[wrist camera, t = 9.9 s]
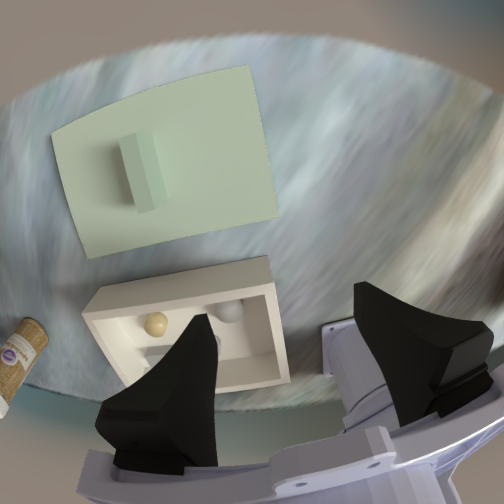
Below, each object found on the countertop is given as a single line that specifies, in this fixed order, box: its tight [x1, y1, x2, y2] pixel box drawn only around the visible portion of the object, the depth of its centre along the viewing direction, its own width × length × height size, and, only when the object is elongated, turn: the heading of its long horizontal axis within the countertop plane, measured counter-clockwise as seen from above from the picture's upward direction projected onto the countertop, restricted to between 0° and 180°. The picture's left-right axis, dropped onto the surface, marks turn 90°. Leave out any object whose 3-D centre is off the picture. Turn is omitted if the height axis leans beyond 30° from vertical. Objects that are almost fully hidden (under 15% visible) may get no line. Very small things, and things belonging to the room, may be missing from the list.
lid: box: [51, 65, 279, 260], centre depth 18 cm, size 17×12×5 cm
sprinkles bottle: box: [0, 318, 49, 418], centre depth 20 cm, size 5×5×13 cm
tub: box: [81, 255, 291, 394], centre depth 23 cm, size 16×11×4 cm
